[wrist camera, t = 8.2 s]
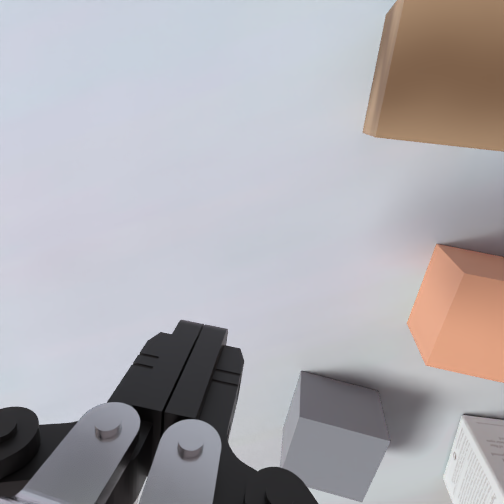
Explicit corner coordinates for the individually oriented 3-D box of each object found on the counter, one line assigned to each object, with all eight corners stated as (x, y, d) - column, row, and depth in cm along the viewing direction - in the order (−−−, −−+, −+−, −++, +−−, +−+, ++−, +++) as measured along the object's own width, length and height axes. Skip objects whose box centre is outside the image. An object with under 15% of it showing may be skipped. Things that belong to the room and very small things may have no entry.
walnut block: (385, 15, 16) (406, -13, 13) (503, 24, 16) (561, -2, 12) (362, 132, 18) (375, 137, 15) (467, 144, 18) (508, 151, 14)
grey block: (301, 369, 24) (299, 416, 20) (377, 389, 23) (390, 441, 20) (283, 426, 26) (279, 479, 22) (354, 445, 25) (361, 502, 22)
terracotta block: (435, 243, 20) (464, 273, 16) (532, 261, 19) (585, 297, 16) (406, 321, 22) (425, 365, 18) (494, 340, 21) (533, 389, 17)
